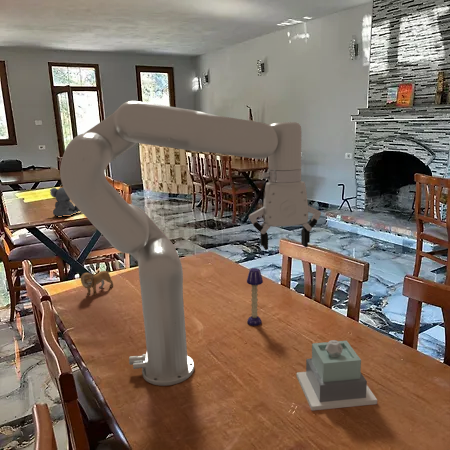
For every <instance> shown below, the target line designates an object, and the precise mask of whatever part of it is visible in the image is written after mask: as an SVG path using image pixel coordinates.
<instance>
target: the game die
mask: <svg viewBox="0 0 450 450" xmlns="http://www.w3.org/2000/svg"><path fill="white" fill-rule="evenodd" d="M325 350H326V351H327V353H328V354H329V355H330V356H331V357H339V356H340V355H341V353H342V350H343V347H342V346H341V344H340V343H339V342H338V340H336V339H333V340H329V341H328V344H327V346H326V349H325Z"/></svg>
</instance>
